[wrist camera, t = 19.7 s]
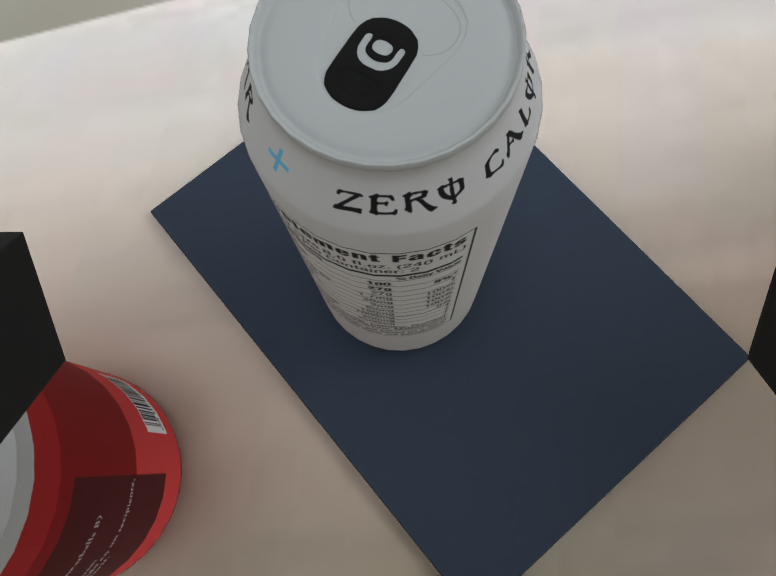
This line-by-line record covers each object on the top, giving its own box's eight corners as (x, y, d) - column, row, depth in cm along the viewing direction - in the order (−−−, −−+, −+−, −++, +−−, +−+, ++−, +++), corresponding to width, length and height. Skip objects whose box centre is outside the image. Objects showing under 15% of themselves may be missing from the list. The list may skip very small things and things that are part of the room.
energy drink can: (503, 253, 26) (622, -19, 11) (428, 383, 24) (454, 267, 10) (373, 184, 27) (330, -149, 12) (295, 306, 25) (142, 97, 11)
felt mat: (746, 358, 25) (751, 357, 24) (475, 616, 23) (476, 618, 22) (406, 25, 29) (406, 19, 29) (153, 214, 27) (149, 211, 27)
